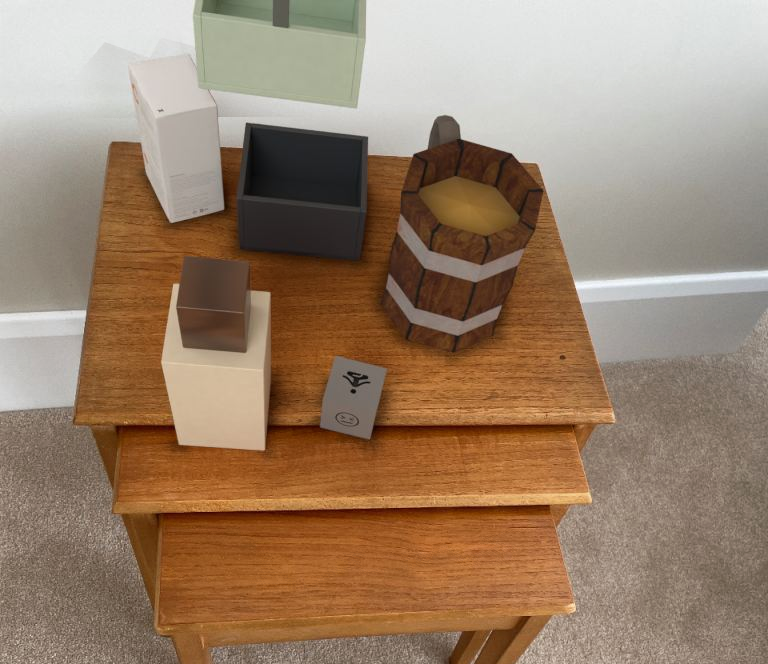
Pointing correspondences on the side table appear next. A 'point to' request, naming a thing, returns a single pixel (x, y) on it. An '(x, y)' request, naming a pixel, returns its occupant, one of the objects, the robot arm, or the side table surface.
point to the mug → (458, 239)
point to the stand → (220, 384)
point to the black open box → (302, 192)
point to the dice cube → (352, 397)
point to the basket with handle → (282, 48)
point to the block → (214, 304)
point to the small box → (178, 136)
